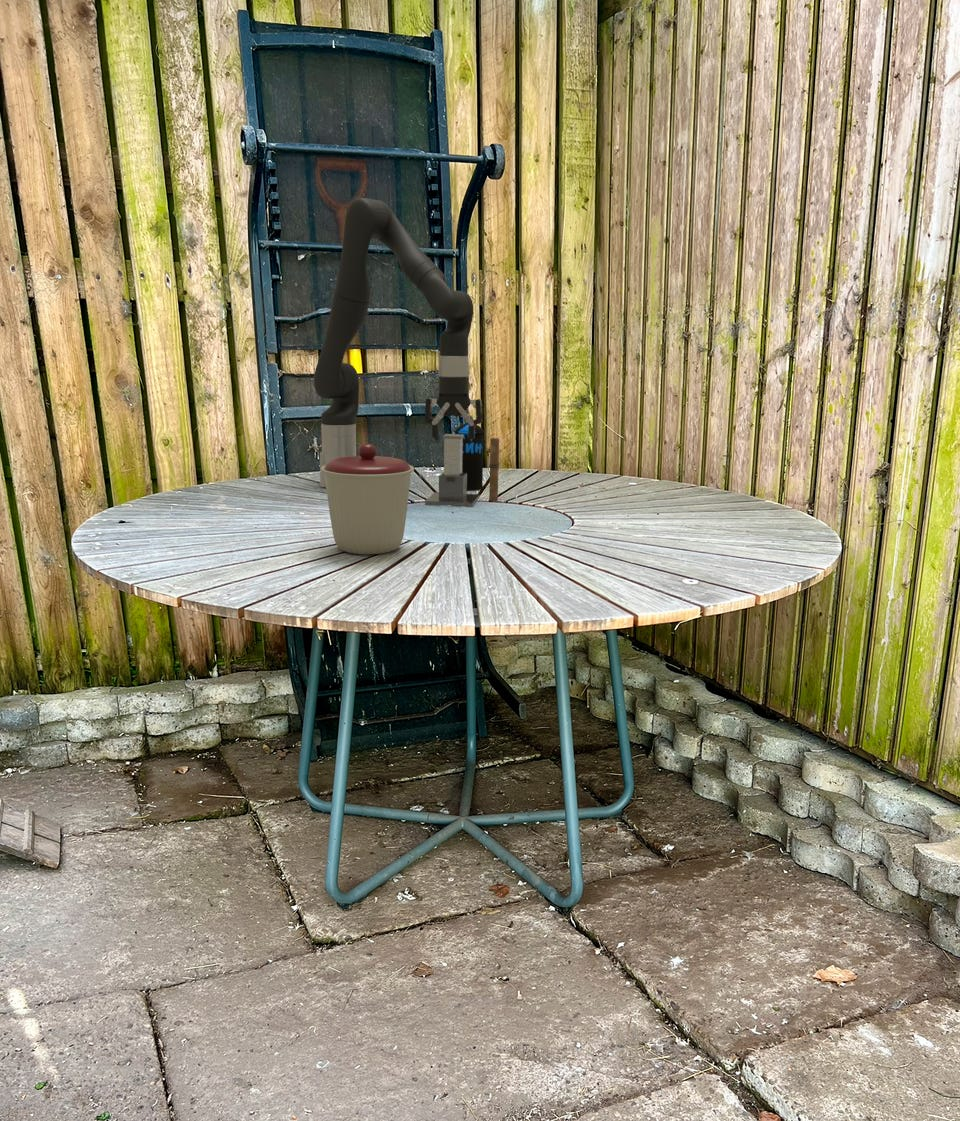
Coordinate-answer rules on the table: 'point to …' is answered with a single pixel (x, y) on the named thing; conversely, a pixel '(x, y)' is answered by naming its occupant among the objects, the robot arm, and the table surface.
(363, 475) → the canister
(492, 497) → the banded wooden rod
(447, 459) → the grey-green long block
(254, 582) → the table surface
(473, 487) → the aerosol can
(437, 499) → the stand base
